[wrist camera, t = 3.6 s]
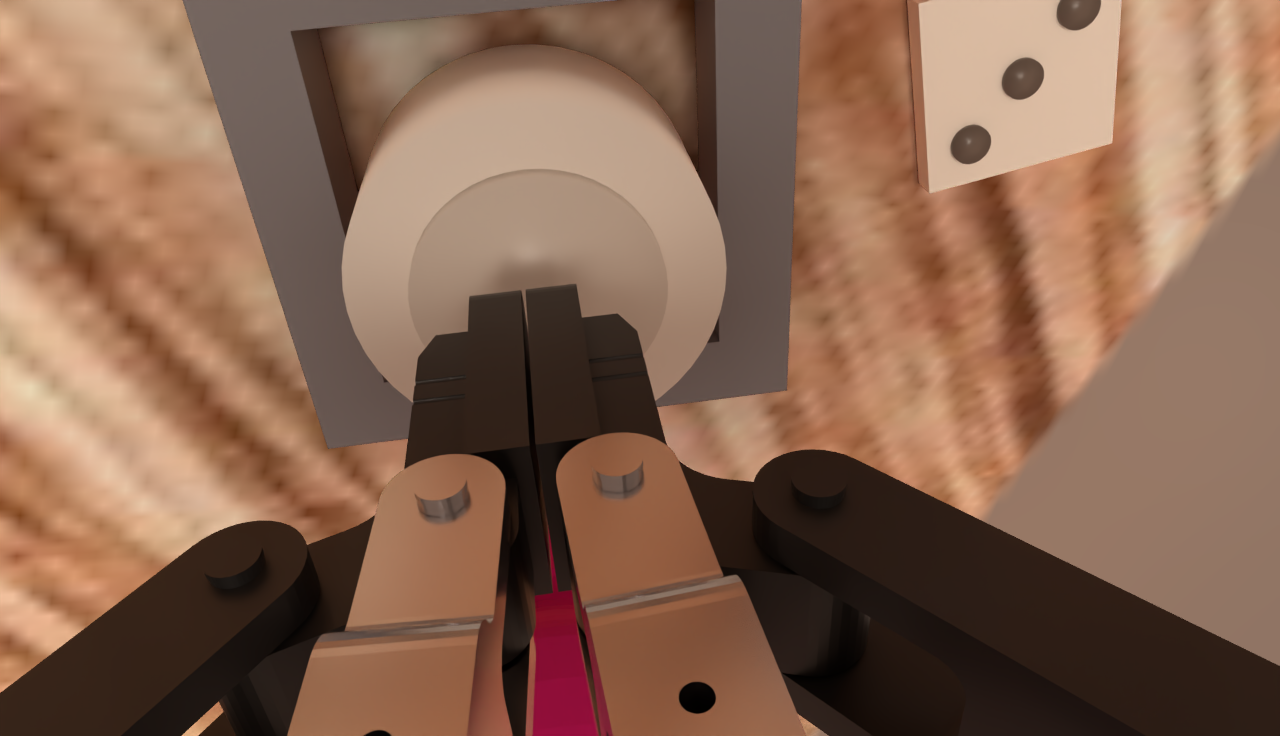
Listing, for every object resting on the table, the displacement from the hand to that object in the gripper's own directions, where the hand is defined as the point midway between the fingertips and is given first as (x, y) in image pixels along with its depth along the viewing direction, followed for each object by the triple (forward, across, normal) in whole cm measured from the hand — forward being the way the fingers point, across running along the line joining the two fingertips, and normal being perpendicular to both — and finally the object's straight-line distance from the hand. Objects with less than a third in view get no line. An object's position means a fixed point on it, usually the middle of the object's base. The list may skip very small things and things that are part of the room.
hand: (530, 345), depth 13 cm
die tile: (+7, -10, -1) cm, 12 cm away
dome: (+5, 0, 0) cm, 5 cm away
